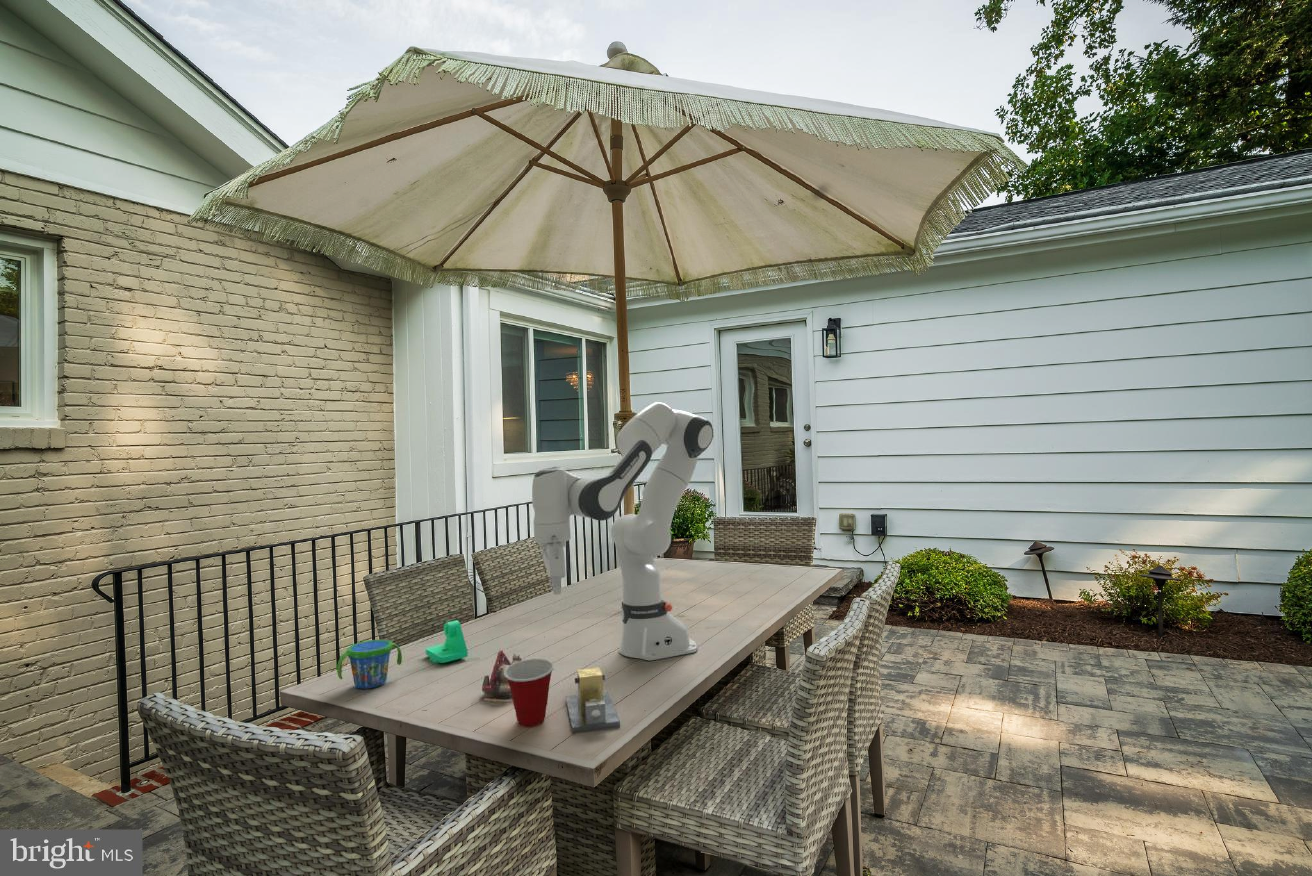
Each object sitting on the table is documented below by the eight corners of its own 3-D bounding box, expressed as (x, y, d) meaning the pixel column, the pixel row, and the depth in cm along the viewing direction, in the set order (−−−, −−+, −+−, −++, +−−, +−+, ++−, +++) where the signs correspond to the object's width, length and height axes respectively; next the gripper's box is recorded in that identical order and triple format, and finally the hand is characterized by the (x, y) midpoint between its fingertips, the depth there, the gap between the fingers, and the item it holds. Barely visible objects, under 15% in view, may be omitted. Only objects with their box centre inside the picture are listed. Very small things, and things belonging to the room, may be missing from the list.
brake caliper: (488, 674, 162) (511, 640, 161) (518, 701, 160) (543, 666, 159) (466, 691, 152) (491, 654, 150) (499, 719, 150) (525, 682, 148)
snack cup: (397, 671, 173) (396, 634, 173) (407, 682, 165) (406, 643, 165) (334, 686, 164) (332, 647, 164) (341, 698, 156) (340, 657, 156)
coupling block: (603, 702, 145) (602, 666, 145) (607, 710, 140) (605, 674, 140) (574, 705, 144) (573, 670, 144) (577, 714, 139) (576, 678, 139)
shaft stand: (608, 696, 151) (607, 674, 151) (620, 727, 135) (619, 702, 135) (565, 701, 149) (565, 679, 149) (572, 733, 132) (571, 708, 132)
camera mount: (424, 657, 185) (423, 622, 185) (450, 651, 190) (448, 616, 190) (441, 667, 176) (440, 630, 176) (467, 660, 181) (466, 624, 181)
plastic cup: (495, 729, 136) (493, 673, 136) (523, 708, 146) (521, 656, 146) (539, 736, 132) (537, 678, 132) (564, 714, 142) (562, 660, 142)
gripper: (569, 538, 147) (572, 597, 147) (561, 527, 167) (563, 579, 167) (542, 541, 145) (545, 601, 146) (536, 529, 165) (539, 582, 165)
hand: (555, 589), depth 156 cm, fingers open, 8 cm apart
